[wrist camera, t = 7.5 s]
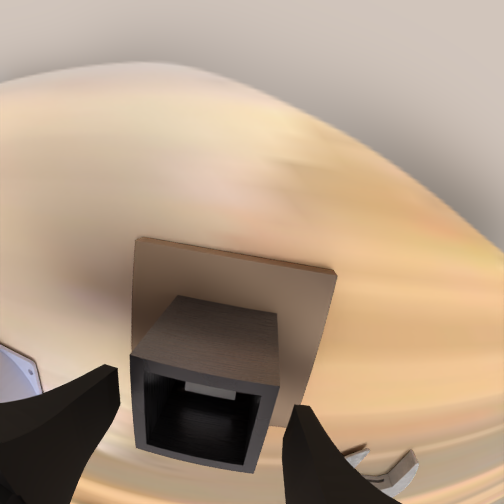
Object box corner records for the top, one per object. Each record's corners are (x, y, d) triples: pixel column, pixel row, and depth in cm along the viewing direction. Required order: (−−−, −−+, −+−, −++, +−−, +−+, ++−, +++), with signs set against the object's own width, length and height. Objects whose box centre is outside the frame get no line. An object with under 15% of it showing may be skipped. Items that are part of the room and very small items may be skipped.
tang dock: (291, 418, 18) (293, 457, 14) (138, 388, 18) (118, 421, 14) (333, 270, 15) (350, 293, 12) (142, 237, 16) (112, 250, 12)
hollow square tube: (259, 392, 16) (253, 473, 10) (172, 374, 16) (135, 447, 10) (277, 313, 15) (280, 386, 9) (177, 294, 15) (129, 354, 9)
